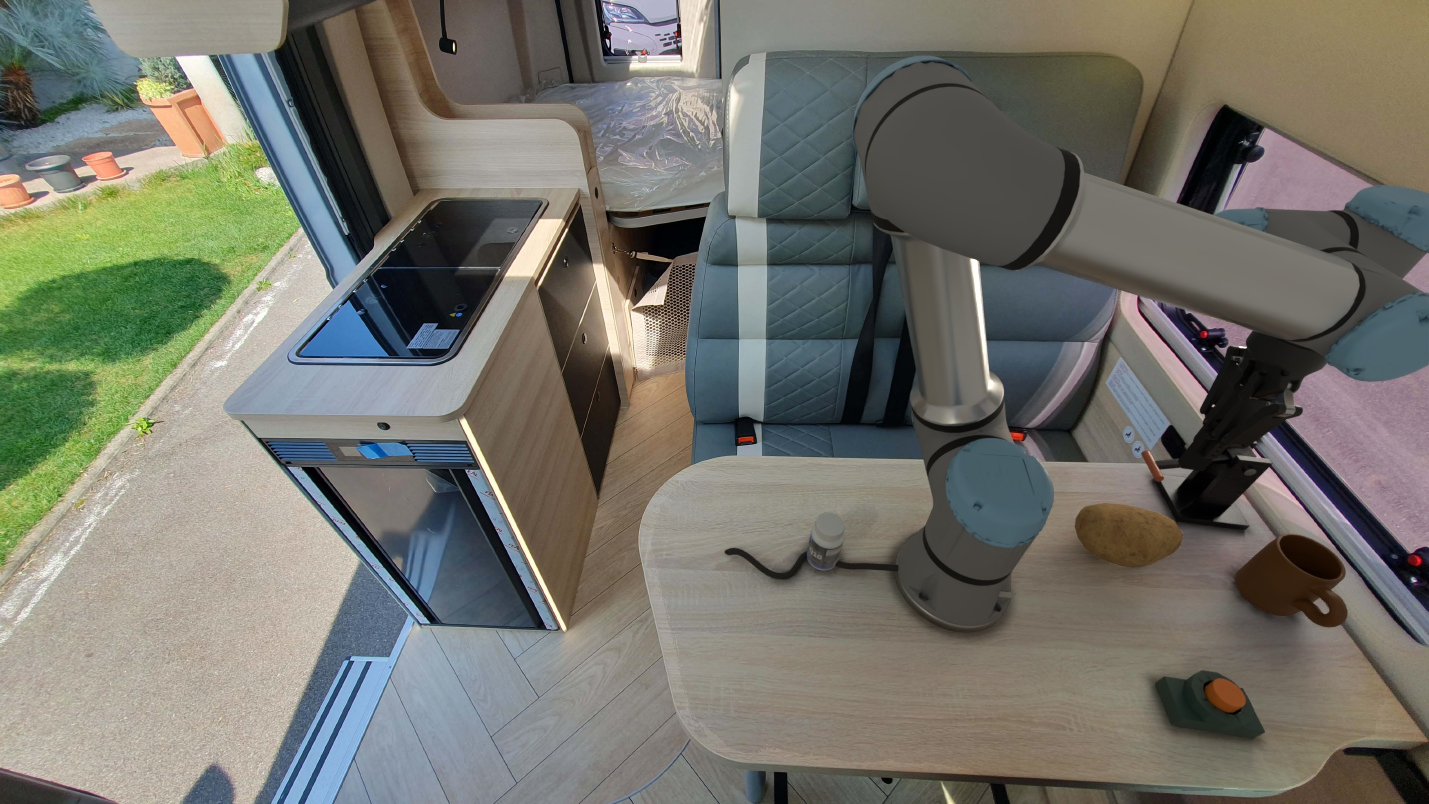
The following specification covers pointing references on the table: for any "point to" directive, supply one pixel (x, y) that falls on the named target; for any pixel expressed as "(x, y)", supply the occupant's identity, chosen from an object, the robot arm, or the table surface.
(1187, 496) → the bracket
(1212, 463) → the lever
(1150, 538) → the potato
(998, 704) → the table surface
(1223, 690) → the button
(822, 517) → the pill bottle
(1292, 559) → the mug
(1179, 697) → the button block
